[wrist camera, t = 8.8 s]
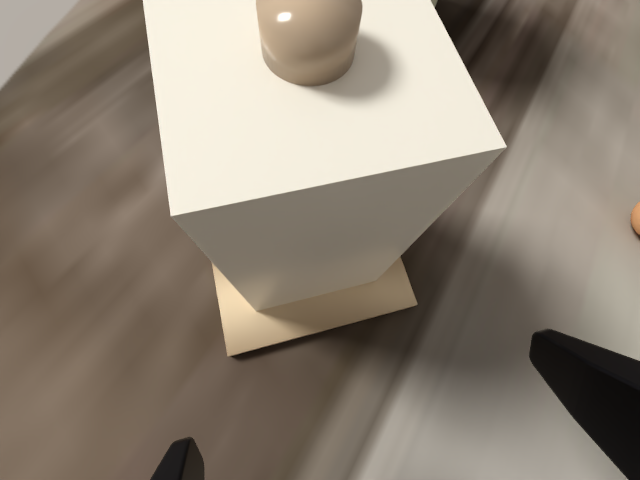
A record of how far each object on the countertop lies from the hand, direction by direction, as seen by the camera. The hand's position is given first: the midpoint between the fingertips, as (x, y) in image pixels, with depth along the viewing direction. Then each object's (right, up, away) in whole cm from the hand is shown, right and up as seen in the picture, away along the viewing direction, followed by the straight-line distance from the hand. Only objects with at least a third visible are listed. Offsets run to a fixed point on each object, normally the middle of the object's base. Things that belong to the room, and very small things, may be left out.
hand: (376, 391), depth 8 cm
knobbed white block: (-2, +4, +10) cm, 11 cm away
